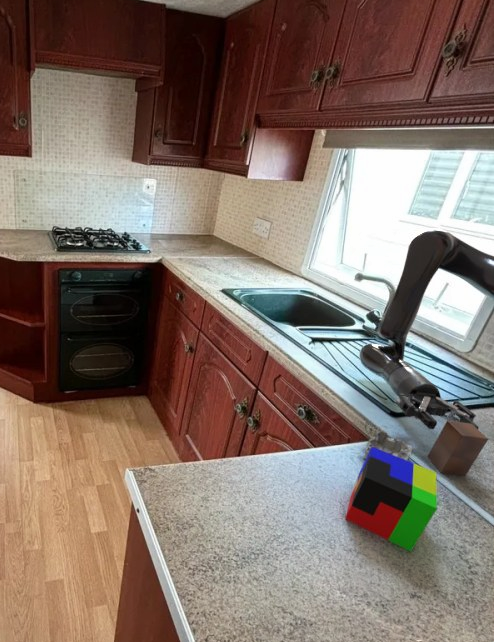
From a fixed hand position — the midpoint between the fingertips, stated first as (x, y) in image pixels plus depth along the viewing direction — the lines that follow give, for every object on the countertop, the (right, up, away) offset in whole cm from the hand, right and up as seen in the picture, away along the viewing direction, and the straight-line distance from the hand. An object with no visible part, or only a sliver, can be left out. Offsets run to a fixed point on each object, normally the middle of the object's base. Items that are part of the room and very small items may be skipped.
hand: (454, 428), depth 86 cm
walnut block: (-1, -8, +1) cm, 8 cm away
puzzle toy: (-25, -13, -13) cm, 31 cm away
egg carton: (-14, -7, +2) cm, 16 cm away
